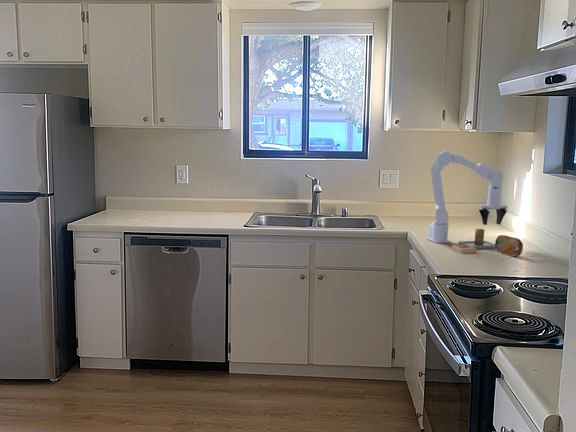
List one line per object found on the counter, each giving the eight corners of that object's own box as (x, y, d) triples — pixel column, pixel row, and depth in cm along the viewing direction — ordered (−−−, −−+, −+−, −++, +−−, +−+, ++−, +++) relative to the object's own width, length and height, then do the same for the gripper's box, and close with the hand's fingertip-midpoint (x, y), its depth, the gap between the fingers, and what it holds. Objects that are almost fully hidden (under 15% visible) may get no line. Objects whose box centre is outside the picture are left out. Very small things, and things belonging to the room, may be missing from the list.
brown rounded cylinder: (472, 244, 273) (473, 228, 272) (480, 243, 274) (481, 228, 272) (476, 245, 269) (478, 230, 268) (484, 245, 270) (485, 230, 269)
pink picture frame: (451, 249, 263) (452, 245, 263) (466, 248, 265) (466, 244, 265) (461, 253, 256) (461, 248, 256) (475, 252, 258) (476, 248, 258)
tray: (458, 244, 275) (458, 241, 275) (484, 243, 279) (485, 240, 279) (471, 249, 265) (471, 246, 264) (498, 248, 269) (498, 245, 268)
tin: (493, 251, 263) (495, 233, 262) (499, 250, 264) (501, 233, 263) (517, 258, 249) (519, 239, 248) (523, 258, 250) (525, 239, 249)
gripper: (486, 197, 265) (483, 226, 267) (512, 197, 269) (509, 225, 271) (477, 195, 272) (474, 223, 274) (503, 195, 276) (500, 223, 278)
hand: (491, 224), depth 273 cm, fingers open, 7 cm apart
